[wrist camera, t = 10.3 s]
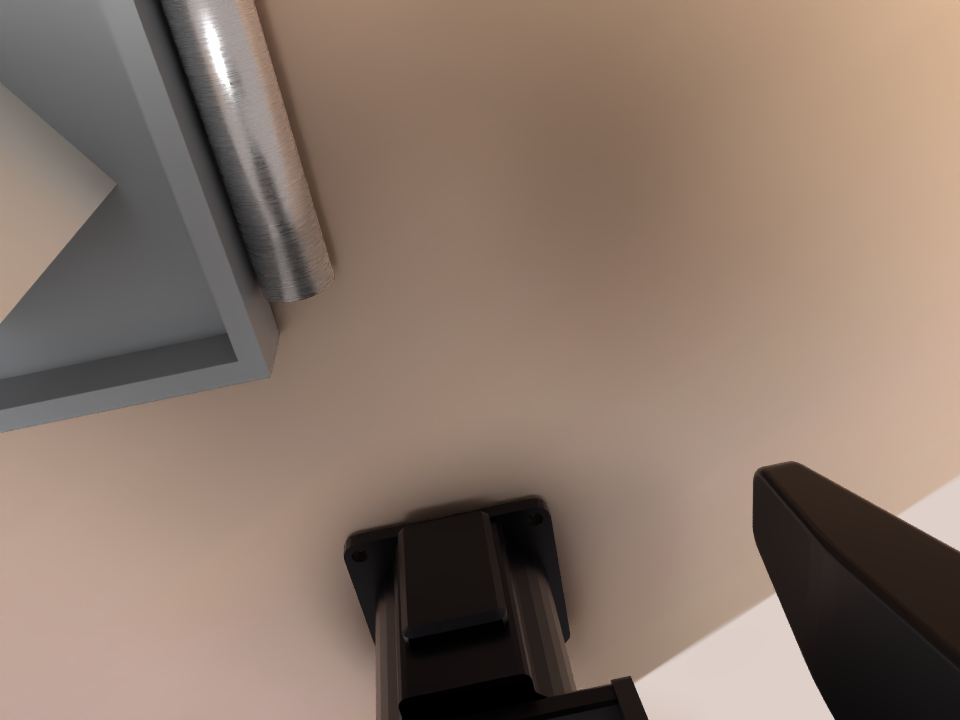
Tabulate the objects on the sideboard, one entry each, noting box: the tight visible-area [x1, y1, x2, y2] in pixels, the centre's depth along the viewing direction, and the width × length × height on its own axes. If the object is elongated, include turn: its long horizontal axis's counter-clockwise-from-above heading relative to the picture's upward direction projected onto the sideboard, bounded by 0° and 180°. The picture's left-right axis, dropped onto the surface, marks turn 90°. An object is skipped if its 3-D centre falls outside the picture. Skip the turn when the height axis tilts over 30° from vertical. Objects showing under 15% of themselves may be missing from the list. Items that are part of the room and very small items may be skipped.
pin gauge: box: [160, 0, 334, 303], centre depth 17 cm, size 10×2×2 cm
